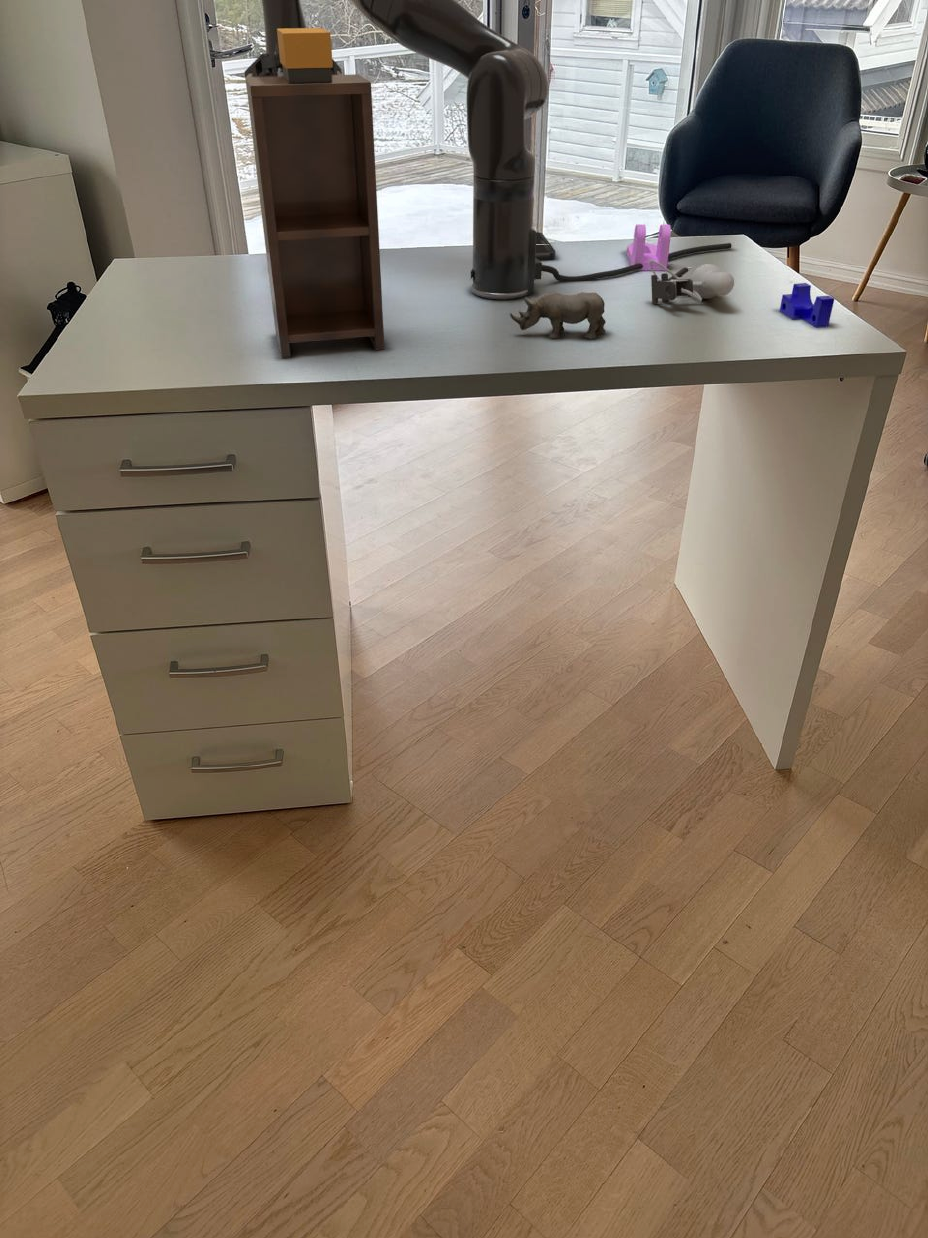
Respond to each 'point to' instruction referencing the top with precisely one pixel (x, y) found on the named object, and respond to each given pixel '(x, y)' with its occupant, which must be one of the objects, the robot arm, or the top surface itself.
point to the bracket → (649, 248)
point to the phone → (543, 248)
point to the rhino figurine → (564, 312)
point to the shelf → (318, 207)
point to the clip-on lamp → (691, 283)
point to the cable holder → (807, 306)
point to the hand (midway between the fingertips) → (297, 44)
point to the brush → (305, 55)
